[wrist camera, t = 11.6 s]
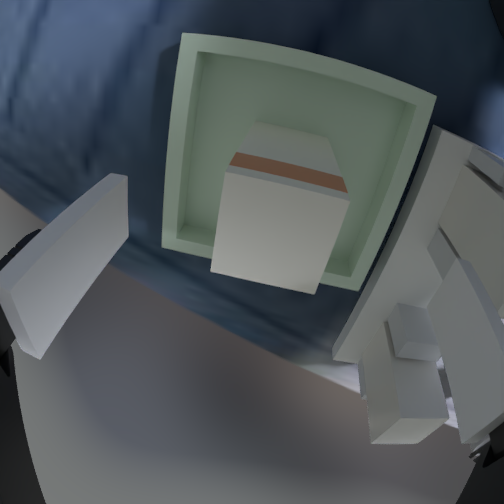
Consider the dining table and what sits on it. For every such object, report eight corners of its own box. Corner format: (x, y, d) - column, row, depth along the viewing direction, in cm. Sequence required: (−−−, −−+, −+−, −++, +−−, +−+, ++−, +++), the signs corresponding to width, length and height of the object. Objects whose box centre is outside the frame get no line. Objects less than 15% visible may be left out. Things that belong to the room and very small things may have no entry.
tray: (195, 34, 16) (182, 32, 14) (421, 90, 16) (436, 96, 14) (173, 228, 24) (161, 247, 22) (354, 269, 24) (358, 291, 22)
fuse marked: (255, 120, 18) (225, 171, 11) (327, 137, 18) (350, 200, 11) (242, 185, 21) (209, 271, 13) (309, 201, 21) (314, 294, 13)
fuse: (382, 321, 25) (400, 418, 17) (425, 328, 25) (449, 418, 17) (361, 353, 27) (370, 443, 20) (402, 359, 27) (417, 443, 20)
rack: (433, 124, 17) (472, 150, 13) (523, 170, 17) (564, 203, 13) (332, 347, 29) (334, 396, 25) (410, 359, 29) (420, 403, 25)
